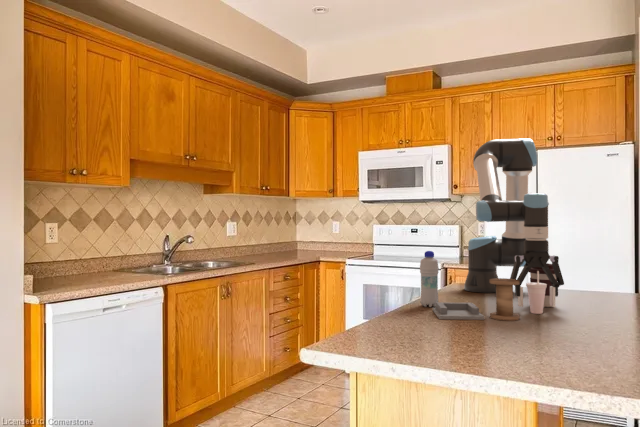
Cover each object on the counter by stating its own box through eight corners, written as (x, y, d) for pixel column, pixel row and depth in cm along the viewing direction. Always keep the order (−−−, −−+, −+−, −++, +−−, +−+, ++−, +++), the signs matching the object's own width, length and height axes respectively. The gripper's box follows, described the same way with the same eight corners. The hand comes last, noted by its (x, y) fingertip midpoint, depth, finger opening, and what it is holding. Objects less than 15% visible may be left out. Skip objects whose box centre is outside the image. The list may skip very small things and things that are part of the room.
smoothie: (549, 314, 160) (549, 272, 160) (528, 314, 161) (528, 271, 162) (544, 311, 166) (544, 269, 167) (524, 310, 168) (524, 269, 168)
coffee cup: (564, 308, 171) (563, 265, 171) (535, 308, 172) (535, 265, 172) (551, 303, 181) (551, 262, 181) (524, 303, 181) (524, 262, 181)
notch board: (432, 310, 169) (432, 301, 169) (474, 310, 168) (474, 302, 168) (439, 319, 155) (439, 309, 155) (484, 319, 154) (484, 310, 154)
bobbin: (486, 314, 161) (486, 278, 161) (514, 315, 160) (514, 278, 160) (494, 320, 152) (493, 282, 152) (523, 321, 151) (523, 282, 151)
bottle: (437, 304, 180) (437, 250, 180) (440, 308, 173) (439, 251, 173) (419, 304, 180) (418, 250, 180) (421, 307, 174) (420, 251, 174)
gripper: (505, 240, 161) (505, 307, 161) (575, 240, 159) (576, 308, 159) (498, 239, 169) (499, 303, 169) (565, 238, 167) (566, 304, 167)
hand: (536, 306), depth 164 cm, fingers open, 10 cm apart
